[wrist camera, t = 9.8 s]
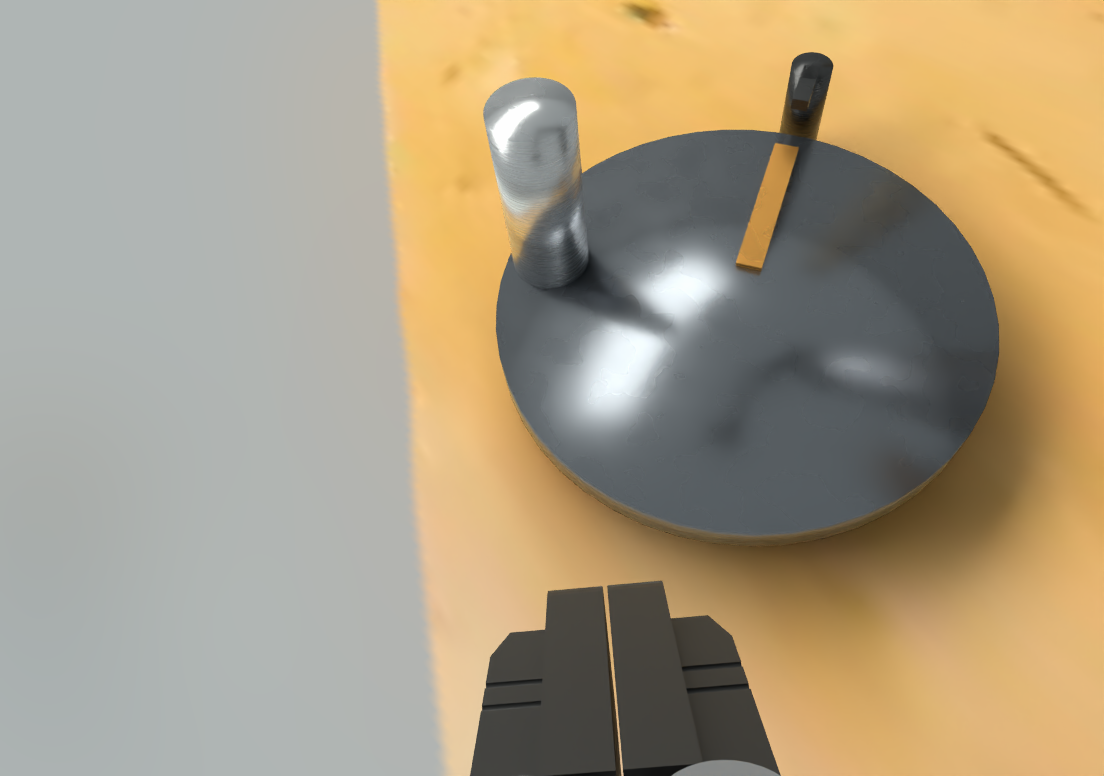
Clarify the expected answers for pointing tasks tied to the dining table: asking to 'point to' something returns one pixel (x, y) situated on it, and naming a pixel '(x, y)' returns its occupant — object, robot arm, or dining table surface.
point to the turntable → (733, 325)
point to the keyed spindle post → (806, 95)
